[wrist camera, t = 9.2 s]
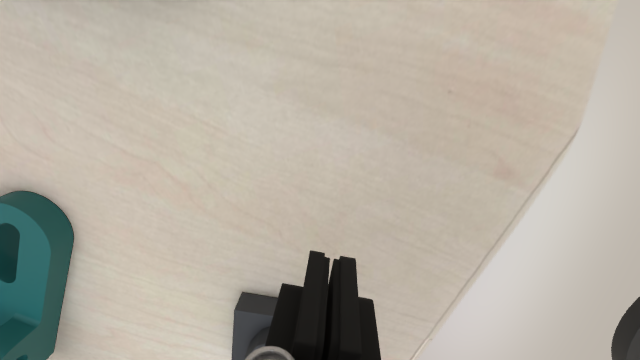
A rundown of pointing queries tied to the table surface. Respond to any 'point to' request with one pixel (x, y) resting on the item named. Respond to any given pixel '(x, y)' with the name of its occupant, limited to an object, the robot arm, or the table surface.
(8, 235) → the bracket
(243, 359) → the control block
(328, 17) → the table surface
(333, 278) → the robot arm
